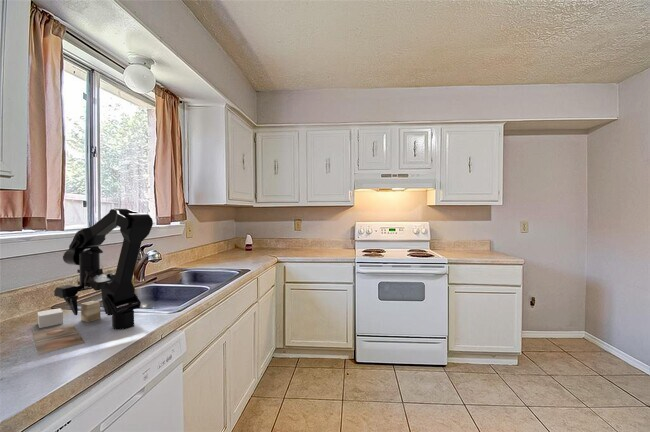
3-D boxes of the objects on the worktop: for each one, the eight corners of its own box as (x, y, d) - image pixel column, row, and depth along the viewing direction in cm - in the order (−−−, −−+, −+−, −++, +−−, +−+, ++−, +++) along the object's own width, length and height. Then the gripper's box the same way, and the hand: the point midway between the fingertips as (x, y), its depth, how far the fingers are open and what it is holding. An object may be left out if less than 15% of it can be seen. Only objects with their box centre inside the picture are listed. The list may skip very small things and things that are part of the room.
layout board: (85, 347, 92) (85, 342, 92) (38, 358, 85) (38, 354, 84) (72, 327, 107) (72, 323, 107) (32, 335, 100) (32, 332, 100)
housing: (63, 326, 108) (62, 312, 107) (39, 331, 103) (38, 316, 103) (60, 322, 112) (60, 308, 112) (37, 326, 108) (37, 312, 107)
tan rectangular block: (100, 321, 112) (100, 301, 112) (88, 325, 109) (87, 305, 109) (93, 320, 114) (93, 300, 114) (81, 323, 110) (80, 303, 110)
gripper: (72, 273, 99) (73, 323, 99) (131, 263, 116) (132, 306, 116) (52, 270, 104) (54, 318, 104) (112, 261, 121) (112, 302, 121)
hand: (90, 311), depth 111 cm, fingers open, 9 cm apart
